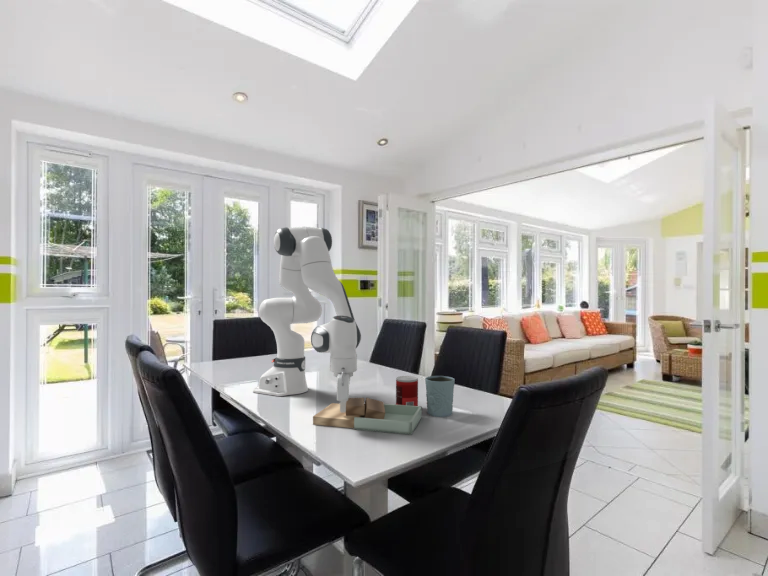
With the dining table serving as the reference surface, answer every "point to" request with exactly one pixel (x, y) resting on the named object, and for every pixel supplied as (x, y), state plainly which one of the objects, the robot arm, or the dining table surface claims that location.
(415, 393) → the canned food
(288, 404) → the dining table surface
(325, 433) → the dining table surface
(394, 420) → the tray
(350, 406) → the tile
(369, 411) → the tile
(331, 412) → the board
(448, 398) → the teal plant pot
